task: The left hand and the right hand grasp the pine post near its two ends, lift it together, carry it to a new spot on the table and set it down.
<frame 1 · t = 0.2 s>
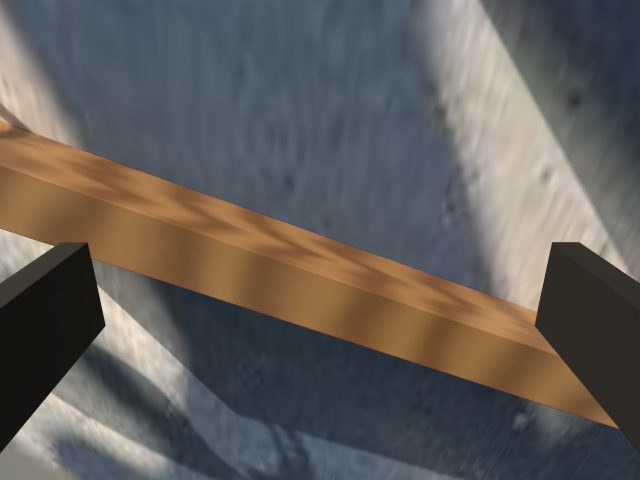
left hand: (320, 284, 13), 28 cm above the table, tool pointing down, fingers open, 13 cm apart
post: (353, 272, 43), on the table
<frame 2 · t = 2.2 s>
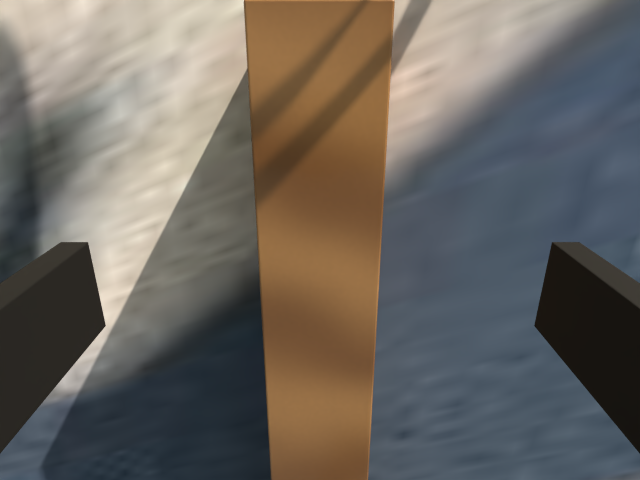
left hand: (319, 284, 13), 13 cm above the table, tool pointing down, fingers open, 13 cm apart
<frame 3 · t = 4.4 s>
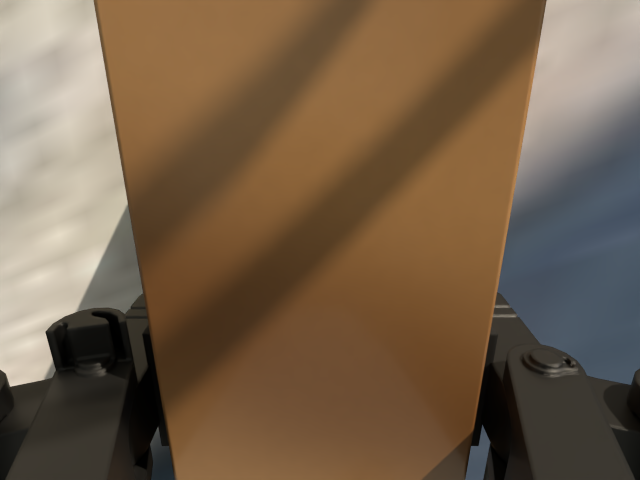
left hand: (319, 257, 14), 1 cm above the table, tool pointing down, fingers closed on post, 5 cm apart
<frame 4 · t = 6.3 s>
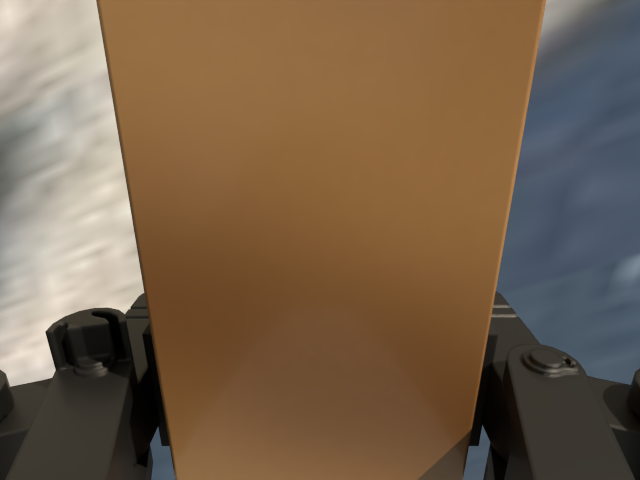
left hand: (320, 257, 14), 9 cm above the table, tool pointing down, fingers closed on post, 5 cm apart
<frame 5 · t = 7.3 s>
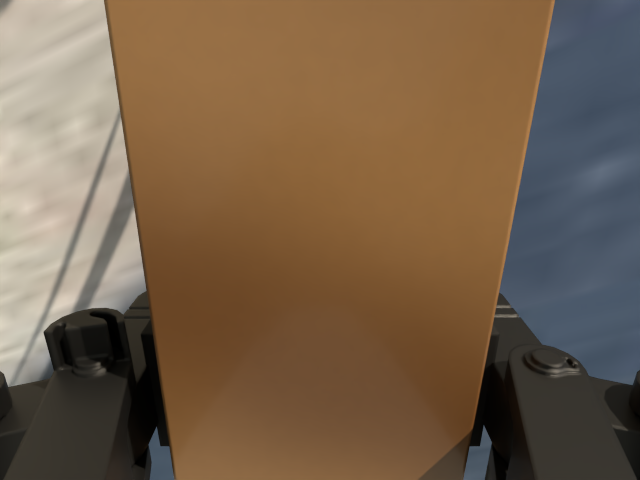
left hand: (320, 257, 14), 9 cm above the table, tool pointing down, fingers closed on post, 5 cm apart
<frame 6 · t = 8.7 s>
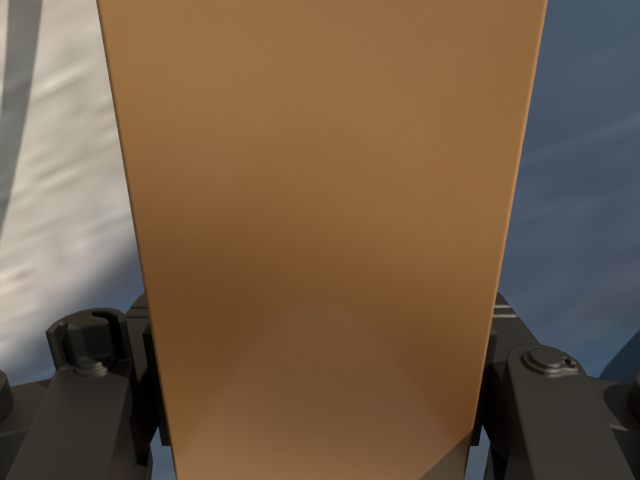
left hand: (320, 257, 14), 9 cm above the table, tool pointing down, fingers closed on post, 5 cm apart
when the left hand's fingers open (2 cm above the table, at t = 10.0 s): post drops 1 cm, on the table.
when the right hand's fingers open (5 cm above the table, at t = 10.2 s): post stays where it is, on the table.
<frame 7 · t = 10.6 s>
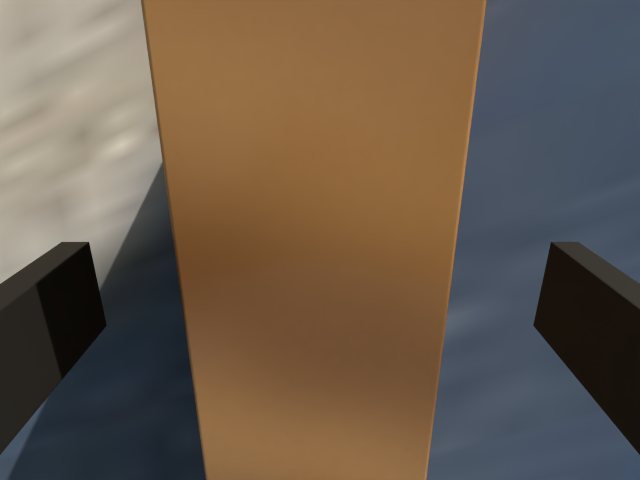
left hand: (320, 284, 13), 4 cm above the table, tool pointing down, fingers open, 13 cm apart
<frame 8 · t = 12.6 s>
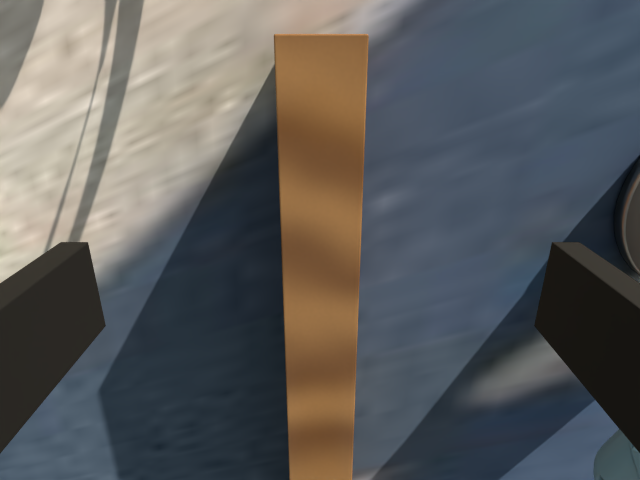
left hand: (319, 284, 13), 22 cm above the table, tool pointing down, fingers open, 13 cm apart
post: (320, 435, 44), on the table
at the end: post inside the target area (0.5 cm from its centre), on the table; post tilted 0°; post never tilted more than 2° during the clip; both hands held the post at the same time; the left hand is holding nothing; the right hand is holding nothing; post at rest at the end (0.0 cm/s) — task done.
